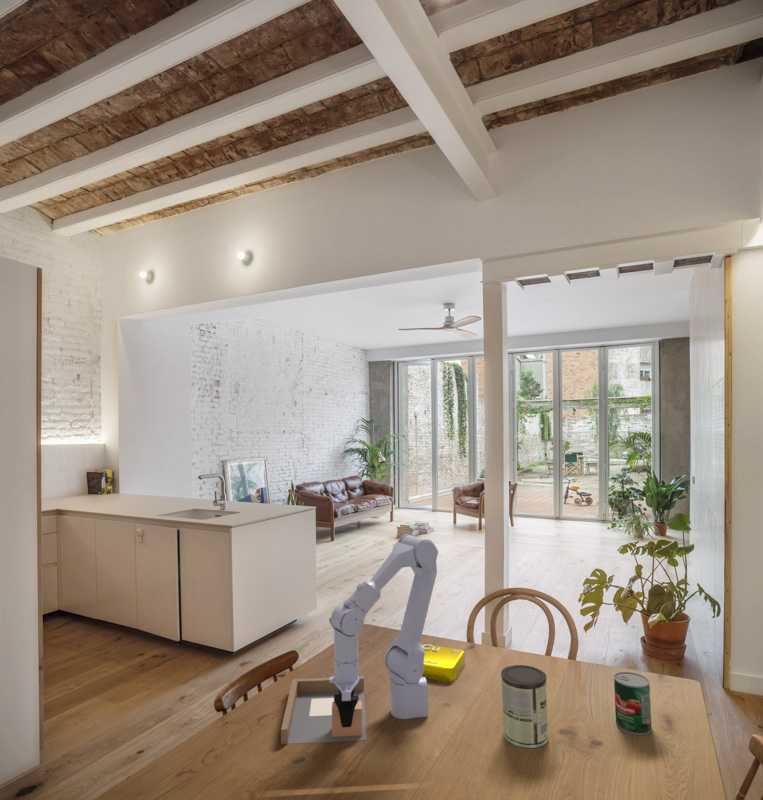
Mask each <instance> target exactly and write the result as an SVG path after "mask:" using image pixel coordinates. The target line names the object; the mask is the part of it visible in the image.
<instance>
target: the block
mask: <svg viewBox="0 0 763 800" xmlns="http://www.w3.org/2000/svg"><path fill="white" fill-rule="evenodd" d="M359 735H362V701H358V702H357V704H356V706H355V709H354V714H353V720H352V725H351V727H342V725H341V720H340V715H339V710H338V708H337V705H336V704H335V702H332V737H338V736H359Z"/></svg>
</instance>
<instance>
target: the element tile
mask: <svg viewBox="0 0 763 800" xmlns="http://www.w3.org/2000/svg"><path fill="white" fill-rule="evenodd" d="M421 645H422V648H423V650H424V653H425V655H424V672H423V675H422V677H426V678H427V679H426V680H431V679H433V680H432V681H437V680H438V681H439V682H442V683H453V682H455V681H456V679H457V678H458V676H459V675H460V673H461V671H462V670H463V668H464V667H465V666H466V664H465V662H466V661H465V659H466V658H465V657H466V656H465V651H464V650H463V649H462V648H455V647H454V648H453V647H447V646H441V645H433V644H429V643H428V644H427V643H421Z"/></svg>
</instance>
